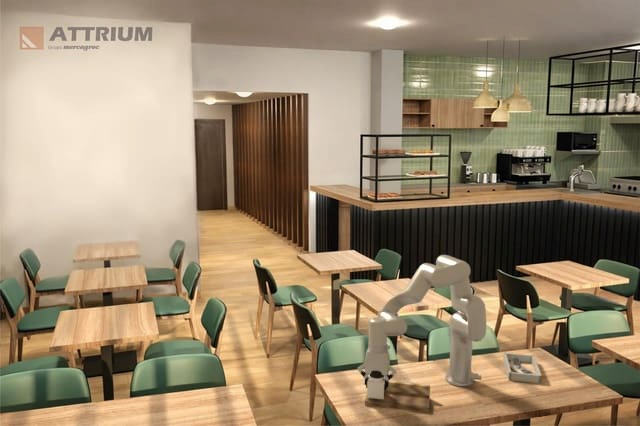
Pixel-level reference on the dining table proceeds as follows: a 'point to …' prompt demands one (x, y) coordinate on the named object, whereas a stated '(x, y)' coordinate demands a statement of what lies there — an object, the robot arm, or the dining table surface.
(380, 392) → the medicine bottle
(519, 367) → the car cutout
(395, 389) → the board
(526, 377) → the grey tray
